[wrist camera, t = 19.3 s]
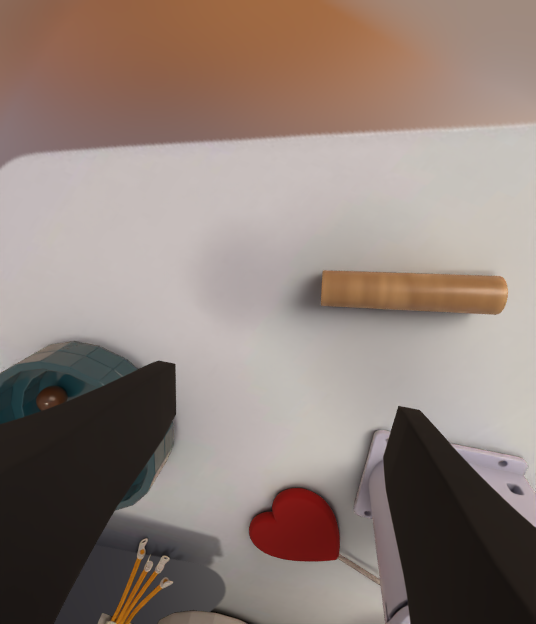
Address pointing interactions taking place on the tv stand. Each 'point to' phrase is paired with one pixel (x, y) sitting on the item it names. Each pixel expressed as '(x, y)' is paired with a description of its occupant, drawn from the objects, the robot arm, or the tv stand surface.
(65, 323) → the tv stand surface
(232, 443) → the tv stand surface
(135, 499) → the bowl
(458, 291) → the stirring stick
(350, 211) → the tv stand surface
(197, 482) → the tv stand surface
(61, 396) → the hazelnut
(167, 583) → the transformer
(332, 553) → the lollipop
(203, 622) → the lid
